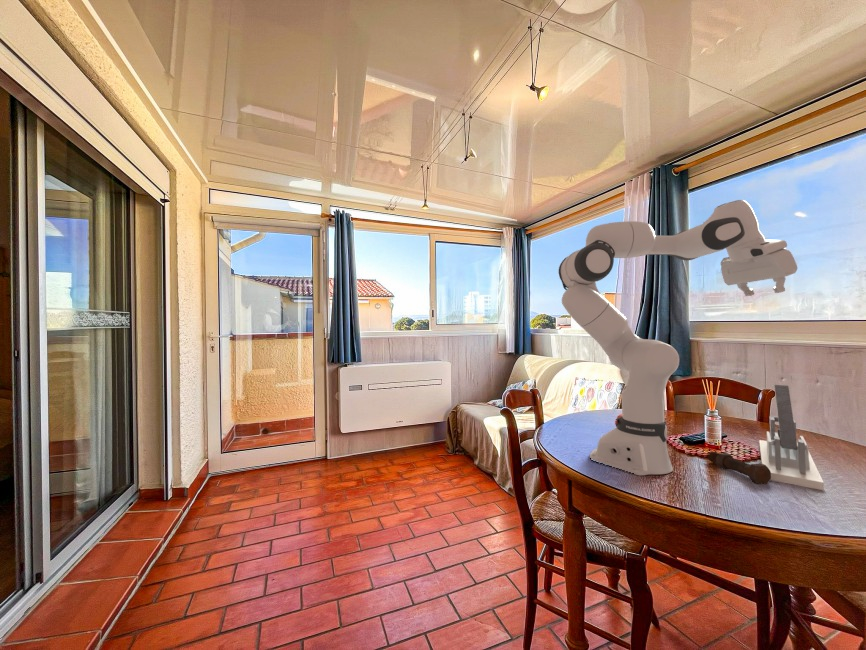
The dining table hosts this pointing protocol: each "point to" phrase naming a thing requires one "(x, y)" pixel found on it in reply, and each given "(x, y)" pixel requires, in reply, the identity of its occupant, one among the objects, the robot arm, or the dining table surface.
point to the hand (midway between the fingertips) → (764, 293)
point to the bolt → (742, 467)
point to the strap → (785, 417)
